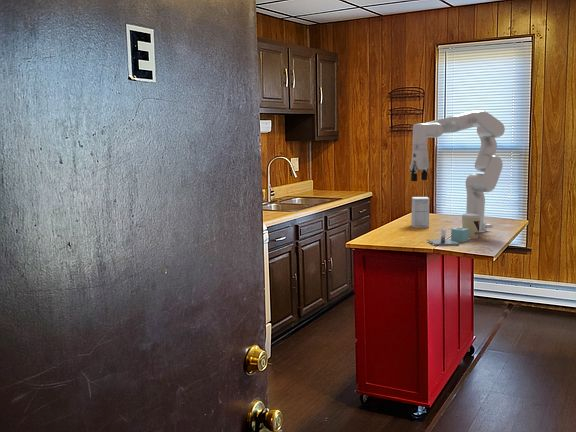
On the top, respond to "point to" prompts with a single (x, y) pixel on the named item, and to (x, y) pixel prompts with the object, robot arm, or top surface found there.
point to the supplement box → (420, 212)
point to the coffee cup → (471, 224)
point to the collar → (460, 234)
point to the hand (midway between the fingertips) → (419, 180)
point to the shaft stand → (443, 240)
